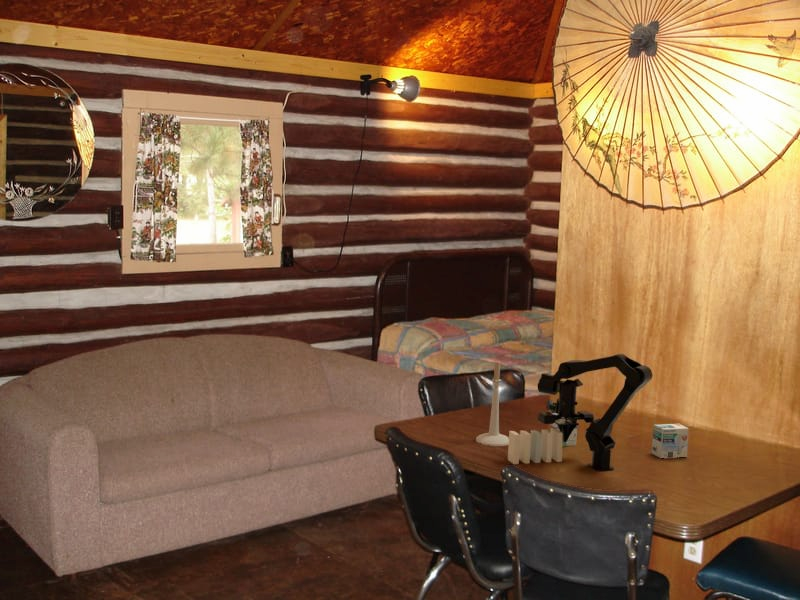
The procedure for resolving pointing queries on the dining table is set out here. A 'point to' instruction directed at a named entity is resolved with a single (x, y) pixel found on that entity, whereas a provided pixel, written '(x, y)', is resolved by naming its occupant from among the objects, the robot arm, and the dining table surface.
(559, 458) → the domino
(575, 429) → the ink box
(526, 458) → the domino
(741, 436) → the dining table surface
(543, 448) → the domino
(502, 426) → the dining table surface
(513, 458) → the domino
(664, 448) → the light bulb box
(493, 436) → the candlestick
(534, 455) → the domino
